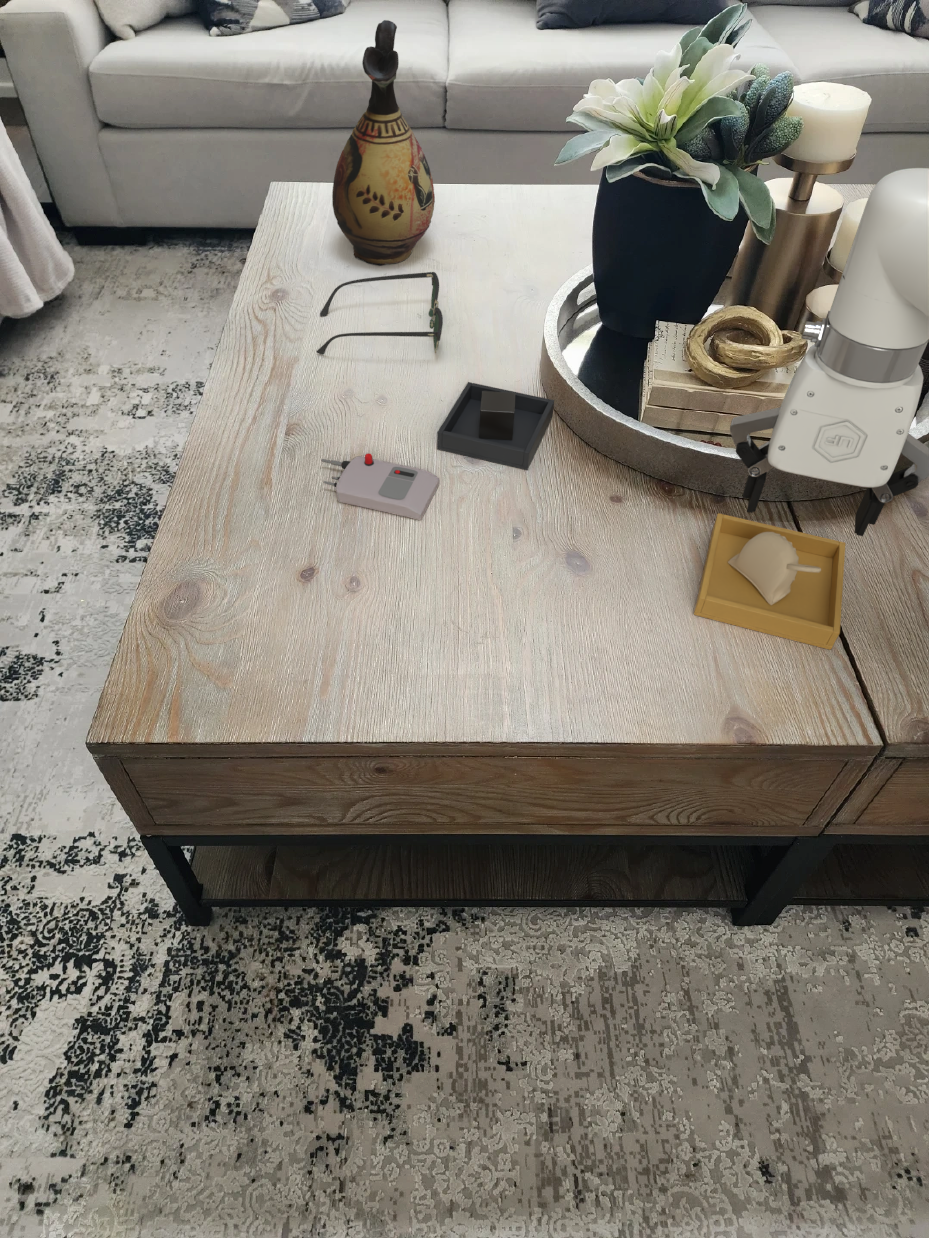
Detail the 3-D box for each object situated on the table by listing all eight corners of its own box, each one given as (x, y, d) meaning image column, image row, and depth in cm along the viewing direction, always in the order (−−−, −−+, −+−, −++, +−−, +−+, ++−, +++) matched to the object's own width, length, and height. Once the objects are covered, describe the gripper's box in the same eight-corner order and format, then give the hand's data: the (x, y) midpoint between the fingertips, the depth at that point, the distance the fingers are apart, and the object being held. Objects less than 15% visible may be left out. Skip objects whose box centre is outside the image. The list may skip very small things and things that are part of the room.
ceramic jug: (433, 276, 129) (432, 46, 107) (331, 273, 129) (309, 43, 106) (436, 227, 140) (436, 10, 118) (343, 224, 140) (325, 6, 118)
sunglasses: (321, 305, 123) (317, 271, 119) (438, 303, 124) (438, 270, 120) (315, 367, 112) (311, 333, 108) (443, 365, 113) (443, 331, 109)
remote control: (436, 524, 92) (436, 503, 90) (303, 495, 95) (300, 473, 92) (455, 487, 96) (455, 466, 94) (327, 459, 99) (324, 438, 97)
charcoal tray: (552, 417, 105) (554, 400, 104) (527, 470, 98) (529, 453, 97) (467, 398, 108) (468, 381, 106) (437, 449, 101) (437, 432, 99)
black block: (513, 420, 104) (515, 392, 101) (512, 440, 101) (514, 412, 98) (480, 418, 104) (482, 390, 101) (479, 438, 101) (480, 410, 98)
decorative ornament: (757, 550, 90) (772, 512, 86) (810, 603, 85) (829, 565, 81) (726, 561, 88) (740, 523, 84) (778, 616, 83) (796, 578, 79)
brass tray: (837, 559, 90) (845, 542, 88) (830, 650, 81) (840, 633, 79) (712, 530, 92) (717, 512, 90) (693, 614, 84) (699, 597, 82)
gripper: (752, 351, 66) (705, 519, 78) (993, 392, 62) (903, 562, 75) (762, 307, 71) (716, 472, 83) (985, 342, 67) (902, 510, 79)
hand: (804, 514), depth 79 cm, fingers open, 9 cm apart
